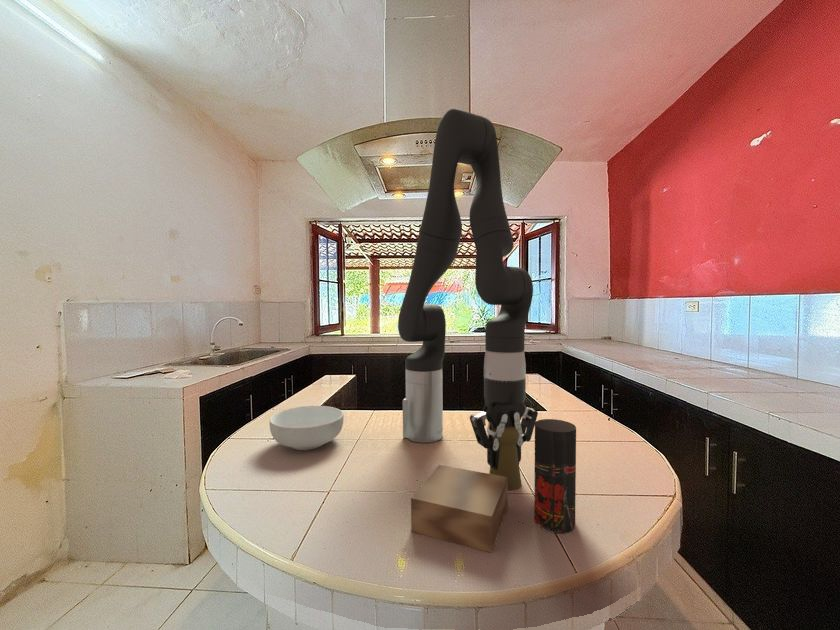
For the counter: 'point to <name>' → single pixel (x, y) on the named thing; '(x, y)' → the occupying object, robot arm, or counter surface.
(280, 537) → the counter surface
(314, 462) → the counter surface
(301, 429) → the cereal bowl
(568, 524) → the deodorant
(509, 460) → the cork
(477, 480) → the walnut block
